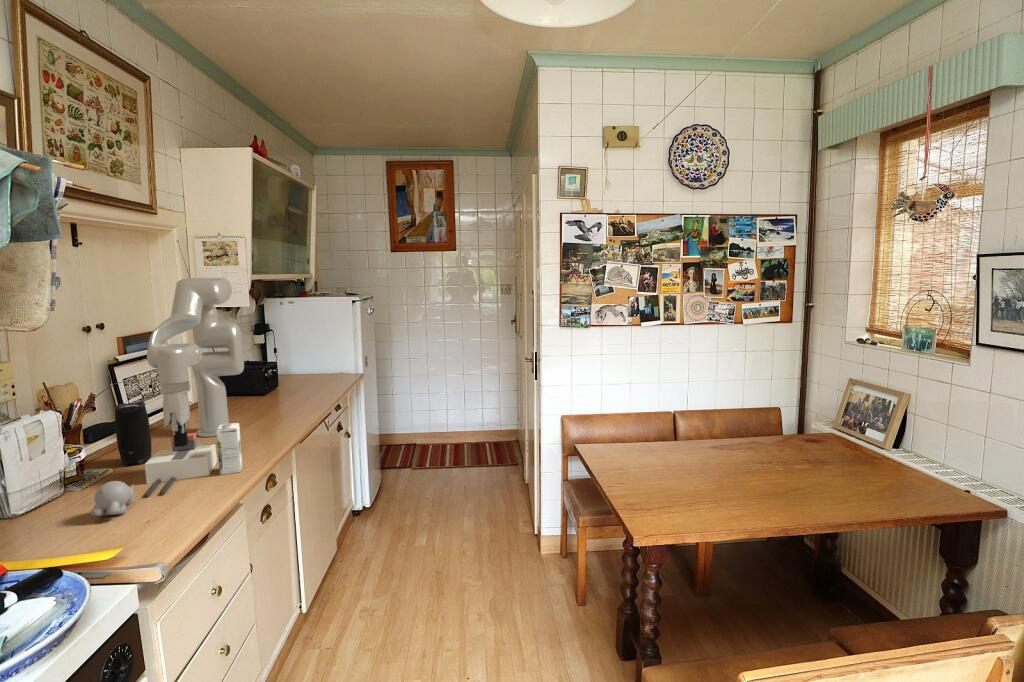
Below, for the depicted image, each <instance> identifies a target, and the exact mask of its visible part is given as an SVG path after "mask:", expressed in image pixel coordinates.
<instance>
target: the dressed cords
mask: <svg viewBox="0 0 1024 682" xmlns="http://www.w3.org/2000/svg"><path fill="white" fill-rule="evenodd" d="M175 481H176V480H175V477H172V478H171V479H170V480H169V481H167V483H166V484H165V485H164V487H163V488H162V489H161V490H160V492H159V494H160V495H161V496H164V495H165V494H166V493H167V492H168V490H169V488H170V487H171V486H172V485H173V483H174V482H175ZM161 483H162V482H161V479H157V480H156V482H155V483H152V485H151V486H150V487H149V489H148V490H147V491H146V493H145V494H144V497H145V498H149V497H150V496H151V495H152V494H153V493H154V491H155V489H157V487H158V486H159V485H160V484H161Z"/></svg>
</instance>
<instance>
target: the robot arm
mask: <svg viewBox="0 0 1024 682" xmlns="http://www.w3.org/2000/svg"><path fill="white" fill-rule="evenodd" d="M231 296H232V284H231V282H230V280H228V279H227V278H225V277H189V278H182V279H180V280H177V282H176V284H175V289H174V296H173V301H172V307H171V312H170V317H168V318H167V319H165V320H163V322H161V323H160V324H159V325H158V326H156V328H155V329H154V330H153V331H152V333H151V334H150V336H149V341H148V346H147V352H146V358H147V359H146V361H147V363H148V365H149V366H150V367H151V368H153V369H157V371H158V379H159V389H160V395H162V411H163V412H162V413H163V414H162V415H163V425H164V427H165V428H168V427H170V426H171V431H172V435H173V436H174V445H175V447H179V446H186V445H187V444H188V438H187V434H188V431H187V422H188V421H189V419H190V418H191V410H190V401H189V394H188V392H191V384H190V373H189V368H190V367H191V370H192V373H193V377H194V380H195V381H194V382H195V386H196V394H197V395H196V396H197V406H198V413H199V414H198V415H199V423H200V424H199V426H200V428H199V429H198V430H196V432H195V433H196V436H197V437H203V438H204V437H205V438H209V437H217V432H216V431H217V429H218V427H219V425H223V424H230V420H229V410H228V400H227V399H228V398H227V390H226V385H225V383H224V382H223V381H222V380H221V378H219V377H222V376H223V377H224V376H236V375H240V374H241V373H243V372H244V370H245V357H244V347H243V337H242V336H243V335H242V330H241V328H240V326H239V325H238V324H237V323H235V322H219V318H218V311H217V308H216V307H215V305H223V304H224V303H226V302H228V301H229V299H230V298H231ZM190 330H192V337H193V341H194V343H187V342H186V343H167V344H165V343H166V342H167V341H168V340H170V339H172V338H174V337H175V336H177V335H180V334H182V333H185V332H187V331H190ZM223 348H226V349H227V350H219V351H217V350H216V351H215V350H214V351H202V349H223Z"/></svg>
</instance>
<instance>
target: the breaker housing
mask: <svg viewBox="0 0 1024 682" xmlns="http://www.w3.org/2000/svg"><path fill="white" fill-rule="evenodd" d="M217 463H218V459H217V446H216V444H215V443H214V444H206V445H197V447H196V448H195V449H189V450H181V451H173V449H172V448H171V449H163V450H156V451H155V453H154V454H152V455H151V458H150V459H149V460H148V461H147V462H146V463H144V469H145V470H144V471H145V472H144V473H145V479H146V484H148V485H149V484H154V483H155V482H156V480H157V479H161V482H160V483H163V482H168V481H169V480H170V479H171V478H172V477H175V481H178V480H185V479H194V478H200V477H201V478H202V477H209V476H210V474H212V471H213V470H214V468H215V466H216V464H217Z"/></svg>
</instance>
